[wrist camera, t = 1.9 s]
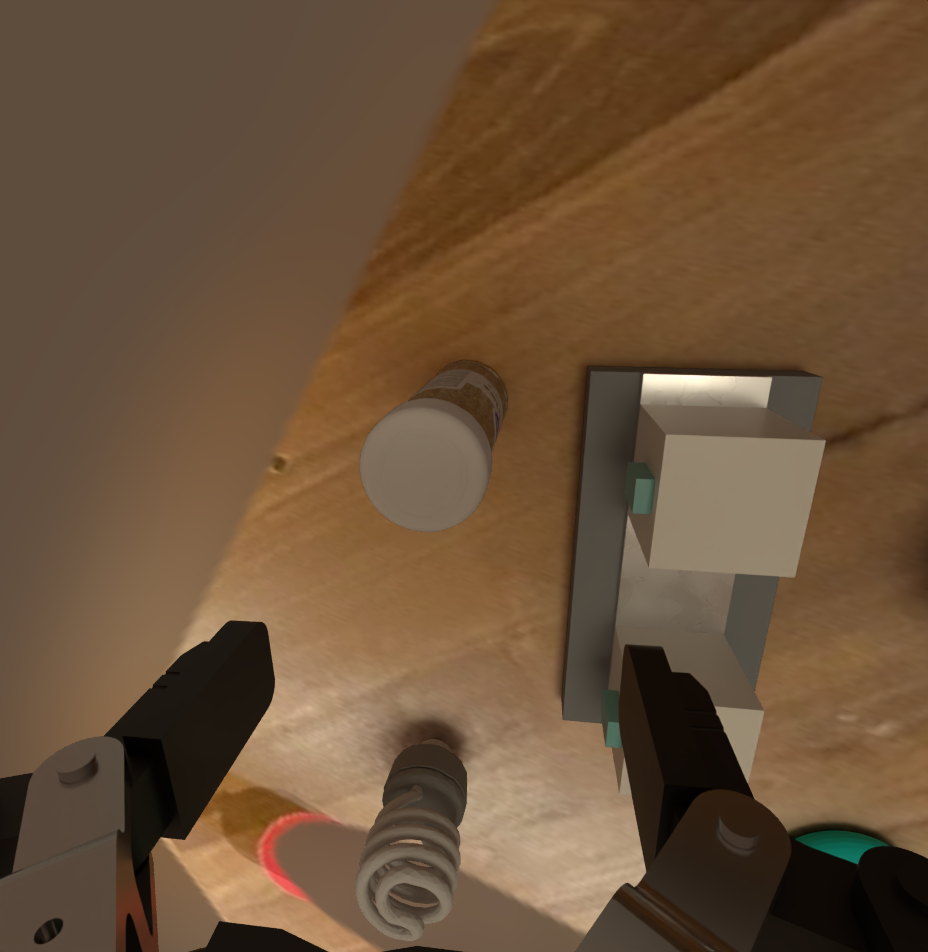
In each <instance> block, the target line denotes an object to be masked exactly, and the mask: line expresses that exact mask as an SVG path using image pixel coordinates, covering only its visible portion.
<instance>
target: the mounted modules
mask: <svg viewBox="0 0 928 952" xmlns="http://www.w3.org/2000/svg"><path fill="white" fill-rule="evenodd" d="M825 442H826V440H824V439H822V438H820V437H819V436H817V435H815V434H813V433H811V432H809V431H808V430H806V429H804V428H802V427H800V426H798V425H796V424H795V423H793V422H791V421H789V420H787V419H785V418H784V417H782V416H780V415H778V414H776V413H774V412H773V411H771V410H769V409H767V408H746V407H714V406H683V405H651V404H640V411H639V420H638V429H637V438H636V447H635V456H634V462H628V465H627V474H626V483H625V493H624V494H625V497H626V499H627V501H628V504H629V509H628V516H629V519H630V521H631V524H632V526H633V529H634V531H635V534H636V537H637V539H638V542H639V544H640V547H641V549H642V552H643V554H644V557H645V560H646V562H647V565H648V567H649V568H657V569H672V570H688V571H703V572H719V573H734V574H750V575H765V576H781V577H795V574H796V570H797V566H798V561H799V557H800V552H801V548H802V544H803V539H804V535H805V530H806V526H807V522H808V517H809V513H810V508H811V504H812V500H813V495H814V491H815V486H816V482H817V478H818V473H819V469H820V464H821V460H822V456H823V451H824V447H825ZM626 644H631V645H648V646H662V647H663V649H664V651H665V654H666V657H667V660H668V663H669V665H670V668H671V671H672V672H683V673H690V674H691V675H692V676H693V677H694V678H695V679H696V680H697V681H698V682H699V683H700V684H701V685H702V686H703V687H704V688H705V689H706V690H707V691H708V692H709V695H710V697H711V699H712V702H713V704H714V706H715V709H716V711H717V715H718V716H719V718H720V720H721V723H722V725H723V727H724V732H725V733H726V734H727V737H728V739H729V741H730V744H731V746H732V748H733V751H734V753H735V755H736V758H737V760H738V762H739V765H740V767H741V769H742V772H743V774H744V776H745V778H746V781H747V783H748V781H749V777H750V772H751V768H752V763H753V759H754V755H755V750H756V746H757V741H758V737H759V733H760V728H761V724H762V719H763V715H764V709H763V707H762V705H761V703H760V702H759V700H758V698H757V696H756V694H755V692H754V690H753V688H752V686H751V685H750V683H749V681H748V679H747V677H746V675H745V673H744V671H743V670H742V668H741V666H740V664H739V662H738V660H737V658H736V656H735V654H734V653H733V651H732V649H731V647H730V645H729V643H728V641H727V639H726V637H725V636H724V635H722V634H709V633H696V632H683V631H670V630H657V629H644V628H631V627H618V626H615V634H614V643H613V652H612V661H611V670H610V679H609V687H608V690H605V689H603V695H602V705H601V719H602V726H603V733H604V740H605V747H612V751H613V757H614V764H615V770H616V776H617V782H618V789H619V794H622V795H631V796H632V794H631V789H630V784H629V778H628V773H627V768H626V763H625V758H624V752H623V747H622V742H621V737H620V729H619V696H620V685H621V674H622V663H623V652H624V647H625V645H626Z"/></svg>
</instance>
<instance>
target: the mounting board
mask: <svg viewBox="0 0 928 952" xmlns="http://www.w3.org/2000/svg"><path fill="white" fill-rule="evenodd" d="M642 373H678V374H717V375H756V376H770V377H772V381H771V387H770V392H769V397H768V403H767V409H769V410H771V411H773V412H774V413H776V414H778V415H780V416H782V417H784V418H785V419H787V420H789V421H791V422H793V423H795V424H796V425H798V426H800V427H802V428H804V429H806V430H808V431H809V432H811V429H812V424H813V420H814V415H815V411H816V406H817V401H818V397H819V392H820V388H821V383H822V378H823V377H821V376H818V375H815V374H811V373H808V372H805V371H779V370H738V369H697V368H656V367H615V366H588V369H587V382H586V394H585V407H584V420H583V432H582V445H581V457H580V470H579V483H578V495H577V508H576V521H575V533H574V546H573V559H572V571H571V584H570V596H569V609H568V622H567V634H566V647H565V660H564V672H563V685H562V697H561V698H562V716H563V720H570V721H580V722H591V723H601V724H602V719H601V705H602V695H603V689H605V690H607V682H608V673H609V664H610V655H611V646H612V637H613V628H614V619H615V610H616V601H617V592H618V583H619V574H620V565H621V556H622V547H623V538H624V529H625V520H626V511H627V502H628V501H627V499H626V497H625V494H624V493H625V483H626V474H627V465H628V462H632V457H633V448H634V439H635V430H636V421H637V412H638V403H639V394H640V385H641V376H642ZM778 581H779V576H765V575H750V574H735V579H734V584H733V589H732V595H731V600H730V605H729V611H728V616H727V621H726V627H725V632H724V636H725V637H726V639H727V641H728V643H729V645H730V647H731V649H732V651H733V653H734V654H735V656H736V658H737V660H738V662H739V664H740V666H741V668H742V670H743V671H744V673H745V675H746V677H747V679H748V681H749V683H750V685H751V686H752V688H753V690H754V692H755V687H756V682H757V678H758V673H759V668H760V664H761V659H762V655H763V650H764V645H765V641H766V636H767V632H768V627H769V622H770V618H771V613H772V609H773V604H774V599H775V595H776V590H777V586H778Z"/></svg>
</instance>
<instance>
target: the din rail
mask: <svg viewBox="0 0 928 952" xmlns="http://www.w3.org/2000/svg"><path fill="white" fill-rule="evenodd" d="M771 381H772V377H770V376H756V375H717V374H678V373H642V376H641V385H640V394H639V403H638V412H637V421H636V430H635V439H634V448H633V457H632V462H634V456H635V447H636V438H637V429H638V420H639V411H640V404H651V405H683V406H714V407H746V408H767V403H768V397H769V392H770V387H771ZM628 509H629V504H628V502H627V511H626V520H625V529H624V538H623V547H622V556H621V565H620V574H619V583H618V592H617V601H616V610H615V619H614V628H613V637H612V646H611V655H610V664H609V673H608V682H607V690H608V687H609V679H610V670H611V661H612V652H613V643H614V634H615V626H618V627H631V628H644V629H657V630H670V631H683V632H696V633H709V634H722V635H724V632H725V627H726V621H727V616H728V611H729V605H730V600H731V595H732V589H733V584H734V579H735V574H734V573H719V572H703V571H688V570H672V569H657V568H649V567H648V565H647V562H646V560H645V557H644V554H643V552H642V549H641V547H640V544H639V542H638V539H637V537H636V534H635V531H634V529H633V526H632V524H631V521H630V519H629V516H628Z"/></svg>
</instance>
